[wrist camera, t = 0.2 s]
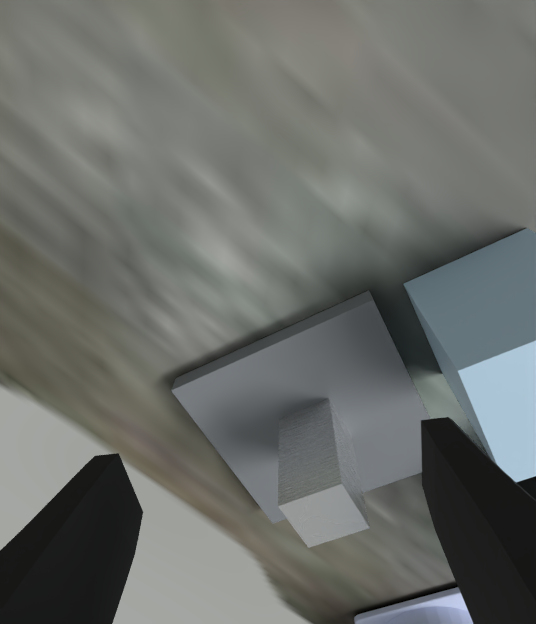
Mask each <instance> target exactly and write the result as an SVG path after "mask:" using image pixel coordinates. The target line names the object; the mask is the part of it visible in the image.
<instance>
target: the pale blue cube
mask: <svg viewBox="0 0 536 624" xmlns="http://www.w3.org/2000/svg"><path fill="white" fill-rule="evenodd" d="M404 287H405V289H406V291H407V294H408V296H409V298H410V300H411V303H412V305H413V307H414V310H415V312H416V314H417V316H418V319H419V321H420V323H421V325H422V328H423V330H424V332H425V335H426V337H427V339H428V341H429V344H430V346H431V348H432V351H433V353H434V355H435V357H436V360H437V362H438V364H439V367H440V369H441V371H442V373H443V375H444V377H445V379H446V381H447V382H448V384H449V386H450V388H451V389H452V391H453V393H454V395H455V397H456V398H457V400H458V402H459V404H460V405H461V407H462V409H463V411H464V412H465V414H466V416H467V418H468V420H469V421H470V423H471V425H472V427H473V428H474V430H475V432H476V434H477V435H478V437H479V439H480V441H481V443H482V444H483V446H484V448H485V450H486V451H487V453H488V455H489V457H490V458H491V460H492V461H494V462H495V463H496V464H497V465H498V466H499V467H500V468H501V469H502V470H503V471H504V472H505V473H506V474H507V475H508V476H510V477H511V478H512V479H513V480H514V481H515V482H519V481H522V480H525V479H528V478H532V477H535V476H536V233H535V232H534V231H532V230H530V229H528V228H526V229H524V230H522V231H519V232H517V233H515V234H513V235H511V236H508V237H506V238H504V239H502V240H499V241H497V242H495V243H493V244H491V245H488V246H486V247H484V248H482V249H479V250H477V251H475V252H473V253H471V254H468V255H466V256H464V257H462V258H459V259H457V260H455V261H453V262H451V263H448V264H446V265H444V266H442V267H439V268H437V269H435V270H433V271H431V272H428V273H426V274H424V275H422V276H419V277H417V278H415V279H413V280H411V281H408V282H406V283H404Z"/></svg>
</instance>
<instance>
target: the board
mask: <svg viewBox="0 0 536 624" xmlns="http://www.w3.org/2000/svg"><path fill="white" fill-rule="evenodd" d="M171 391H172V392H173V394H174V395H175V396H176V398H177V399H178V400H179V402H180V403H181V404H182V405H183V407H184V408H185V409H186V411H187V412H188V413H189V415H190V416H191V417H192V419H193V420H194V421H195V422H196V424H197V425H198V426H199V428H200V429H201V430H202V432H203V433H204V434H205V436H206V437H207V438H208V439H209V441H210V442H211V443H212V445H213V446H214V447H215V449H216V450H217V451H218V453H219V454H220V455H221V456H222V458H223V459H224V460H225V462H226V463H227V464H228V466H229V467H230V468H231V470H232V471H233V472H234V473H235V475H236V476H237V477H238V479H239V480H240V481H241V483H242V484H243V485H244V487H245V488H246V489H247V490H248V492H249V493H250V494H251V496H252V497H253V498H254V500H255V501H256V502H257V504H258V505H259V506H260V507H261V509H262V510H263V511H264V513H265V514H266V515H267V517H268V518H269V519H270V521H271V522H272V523H275V522H278V521H281V520H284V519H287V518H286V517H285V515H284V514H283V512H282V511H281V510H280V508H279V507H278V463H279V418H281V417H284V416H286V415H289V414H291V413H294V412H296V411H298V410H301V409H303V408H306V407H308V406H311V405H313V404H316V403H318V402H321V401H323V400H326V399H328V398H329V399H330V401H331V402H332V404H333V406H334V408H335V409H336V411H337V413H338V414H339V416H340V418H341V420H342V421H343V423H344V425H345V426H346V428H347V430H348V432H349V433H350V435H351V437H352V441H353V446H354V451H355V456H356V461H357V466H358V471H359V476H360V481H361V486H362V491H363V492H366V491H369V490H372V489H375V488H378V487H381V486H384V485H387V484H389V483H392V482H395V481H398V480H401V479H404V478H407V477H410V476H413V475H416V474H419V473H422V450H421V420H428V419H430V417H429V415H428V413H427V411H426V409H425V407H424V404H423V402H422V400H421V398H420V396H419V394H418V392H417V390H416V388H415V386H414V383H413V381H412V379H411V377H410V375H409V373H408V371H407V369H406V367H405V365H404V363H403V360H402V358H401V356H400V354H399V352H398V350H397V348H396V346H395V344H394V342H393V339H392V337H391V335H390V333H389V331H388V329H387V327H386V325H385V323H384V321H383V319H382V316H381V314H380V312H379V310H378V308H377V306H376V304H375V302H374V300H373V298H372V295H371V293H370V291H369V290H368V291H366V292H364V293H362V294H359V295H357V296H355V297H353V298H351V299H348V300H346V301H344V302H342V303H340V304H337V305H335V306H333V307H331V308H329V309H326V310H324V311H322V312H320V313H318V314H315V315H313V316H311V317H309V318H307V319H304V320H302V321H300V322H298V323H296V324H294V325H291V326H289V327H287V328H285V329H283V330H280V331H278V332H276V333H274V334H272V335H269V336H267V337H265V338H263V339H261V340H258V341H256V342H254V343H252V344H250V345H247V346H245V347H243V348H241V349H239V350H236V351H234V352H232V353H230V354H228V355H225V356H223V357H221V358H219V359H217V360H214V361H212V362H210V363H208V364H206V365H203V366H201V367H199V368H197V369H195V370H192V371H190V372H188V373H186V374H184V375H181V376H179V377H177V378H176V379H175V381H174V384H173V387H172V389H171Z"/></svg>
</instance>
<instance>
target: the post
mask: <svg viewBox="0 0 536 624" xmlns="http://www.w3.org/2000/svg"><path fill="white" fill-rule="evenodd" d="M278 507H279V508H280V510H281V511H282V512H283V514H284V515H285V517H286V518H287V519H288V521H289V522H290V523H291V525H292V526H293V527H294V529H295V530H296V531H297V533H298V534H299V535H300V537H301V538H302V540H303V541H304V542H305V544H306V545H307V546H308V548H309V547H312V546H315V545H318V544H321V543H325V542H328V541H331V540H334V539H337V538H340V537H343V536H346V535H350V534H353V533H356V532H359V531H362V530H365V529H368V528H370V527H369V522H368V516H367V511H366V506H365V501H364V496H363V491H362V486H361V481H360V476H359V471H358V466H357V461H356V456H355V451H354V446H353V441H352V437H351V435H350V433H349V432H348V430H347V428H346V426H345V425H344V423H343V421H342V420H341V418H340V416H339V414H338V413H337V411H336V409H335V408H334V406H333V404H332V402H331V401H330V399H329V398H328V399H326V400H323V401H321V402H318V403H316V404H313V405H311V406H308V407H306V408H303V409H301V410H298V411H296V412H294V413H291V414H289V415H286V416H284V417H281V418H279V463H278Z"/></svg>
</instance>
